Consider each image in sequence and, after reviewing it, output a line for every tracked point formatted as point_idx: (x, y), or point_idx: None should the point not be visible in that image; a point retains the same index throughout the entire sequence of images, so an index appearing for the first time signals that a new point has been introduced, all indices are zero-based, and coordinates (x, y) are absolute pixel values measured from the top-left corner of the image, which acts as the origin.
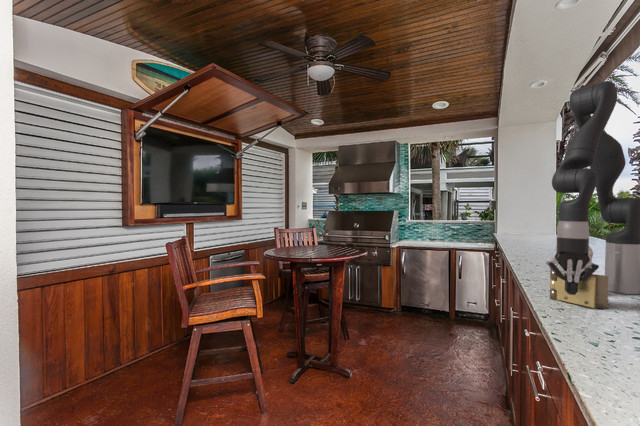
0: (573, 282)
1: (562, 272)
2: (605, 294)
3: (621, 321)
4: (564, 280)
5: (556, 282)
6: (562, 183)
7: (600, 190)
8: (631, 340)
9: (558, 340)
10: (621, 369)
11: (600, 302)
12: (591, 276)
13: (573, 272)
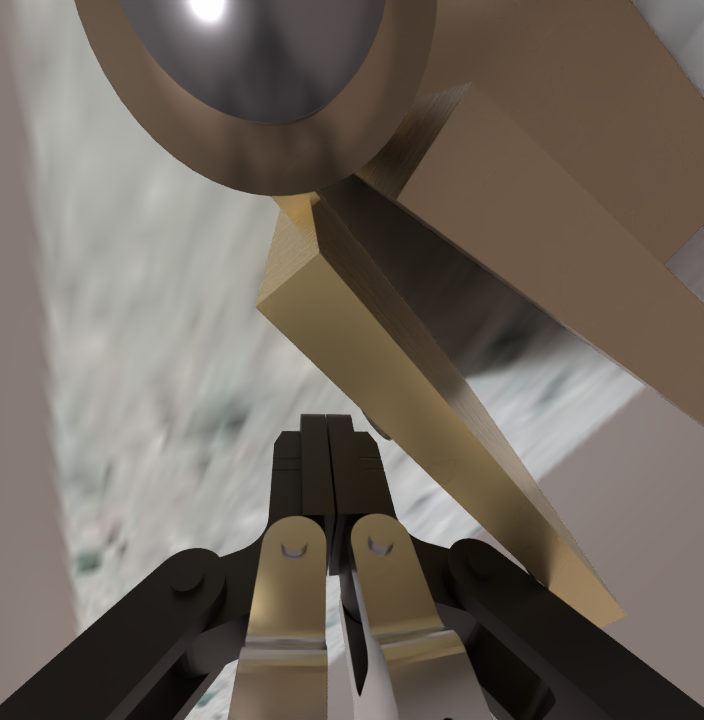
0: (338, 566)
1: (349, 394)
2: (634, 377)
3: (442, 524)
4: (261, 535)
5: (278, 196)
6: None
7: None
8: (330, 656)
9: None
10: None
11: (563, 326)
12: (604, 603)
13: (366, 716)
